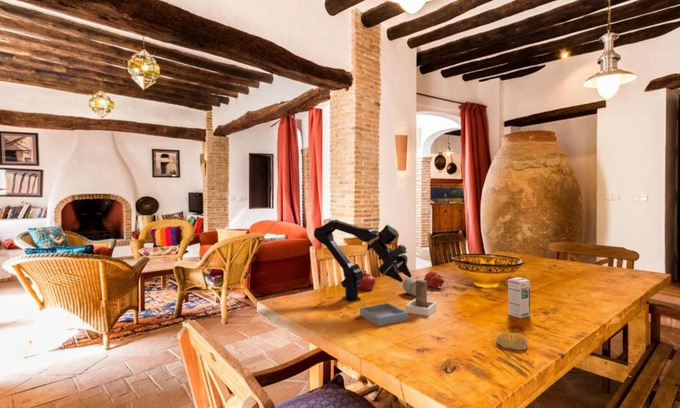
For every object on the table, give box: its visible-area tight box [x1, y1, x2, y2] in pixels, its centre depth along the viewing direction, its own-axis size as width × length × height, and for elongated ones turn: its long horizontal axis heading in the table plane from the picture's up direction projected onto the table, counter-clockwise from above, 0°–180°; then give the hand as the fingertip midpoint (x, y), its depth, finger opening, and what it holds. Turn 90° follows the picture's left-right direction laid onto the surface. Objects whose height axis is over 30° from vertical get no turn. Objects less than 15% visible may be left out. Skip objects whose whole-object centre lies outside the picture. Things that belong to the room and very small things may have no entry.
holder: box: [405, 298, 437, 317], centre depth 153 cm, size 10×10×3 cm
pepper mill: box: [415, 279, 428, 308], centre depth 152 cm, size 4×4×12 cm
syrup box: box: [507, 277, 531, 319], centre depth 146 cm, size 6×6×14 cm
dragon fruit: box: [423, 271, 445, 289], centre depth 189 cm, size 8×8×12 cm
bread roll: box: [496, 331, 528, 351], centre depth 119 cm, size 8×9×4 cm
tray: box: [359, 302, 409, 327], centre depth 145 cm, size 14×14×3 cm
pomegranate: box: [357, 270, 376, 291], centre depth 188 cm, size 10×10×9 cm
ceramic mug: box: [402, 276, 417, 297], centre depth 177 cm, size 11×8×8 cm
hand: (406, 279), depth 156 cm, fingers open, 9 cm apart
